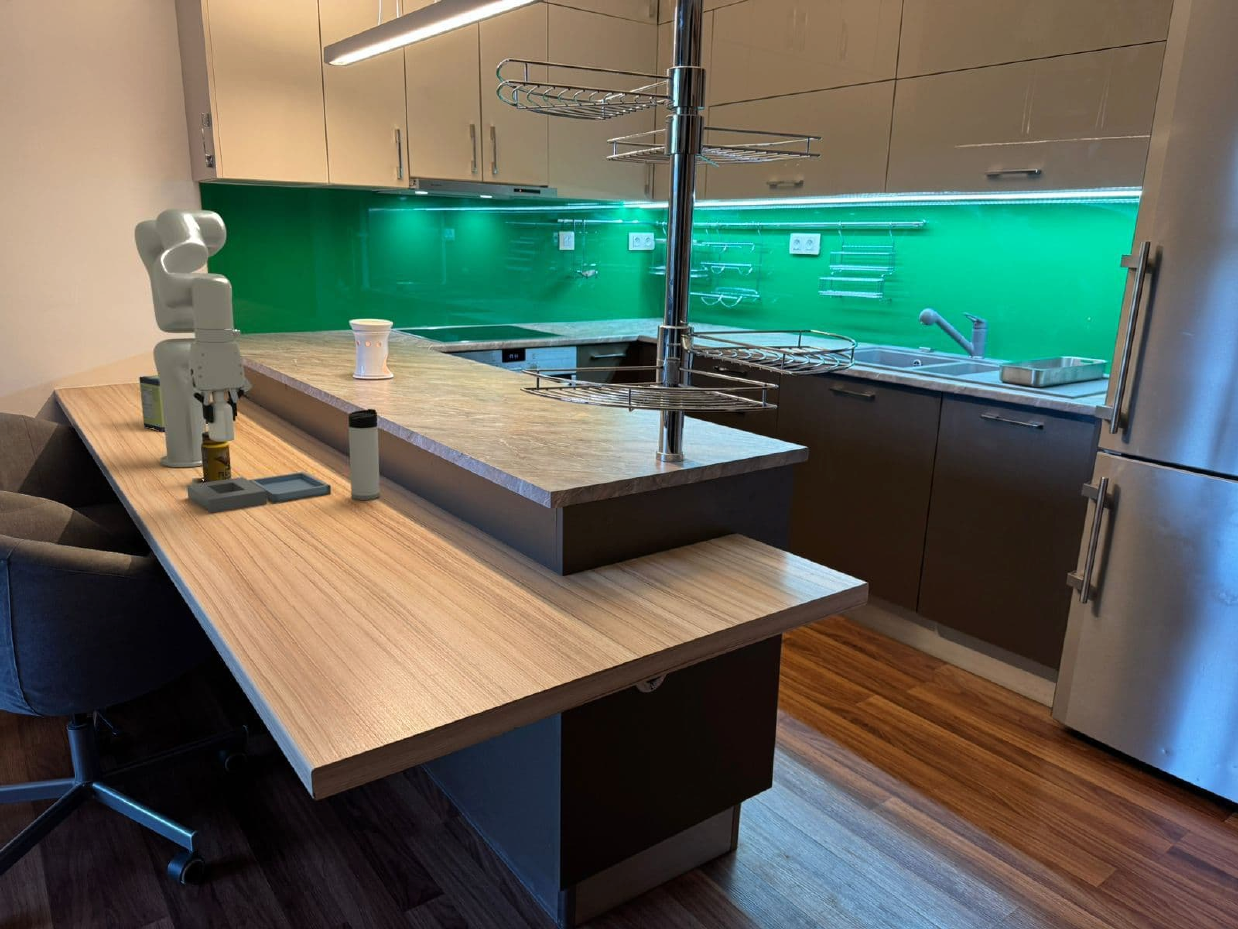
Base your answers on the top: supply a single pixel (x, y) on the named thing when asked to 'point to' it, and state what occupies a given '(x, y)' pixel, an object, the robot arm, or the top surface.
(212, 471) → the condiment
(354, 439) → the travel mug
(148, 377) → the protein box
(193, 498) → the bottle holder
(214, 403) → the eye dropper bottle
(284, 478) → the parts tray
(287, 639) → the top surface
